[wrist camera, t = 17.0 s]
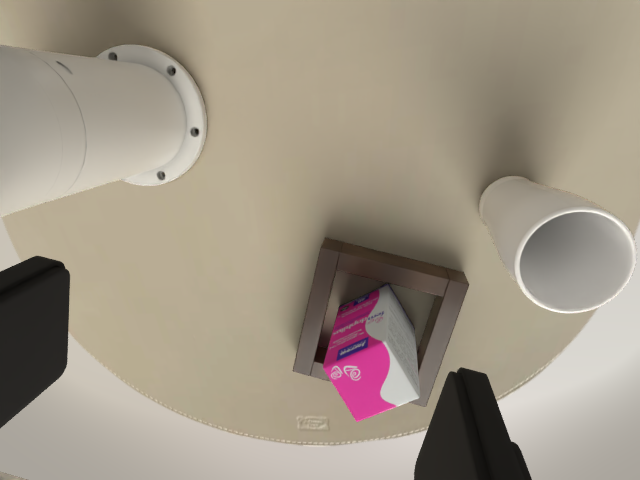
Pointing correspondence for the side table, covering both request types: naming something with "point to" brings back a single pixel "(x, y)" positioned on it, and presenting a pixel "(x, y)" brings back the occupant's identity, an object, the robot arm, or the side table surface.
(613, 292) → the drinking glass
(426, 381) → the socket
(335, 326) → the supplement box
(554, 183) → the side table surface
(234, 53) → the side table surface
